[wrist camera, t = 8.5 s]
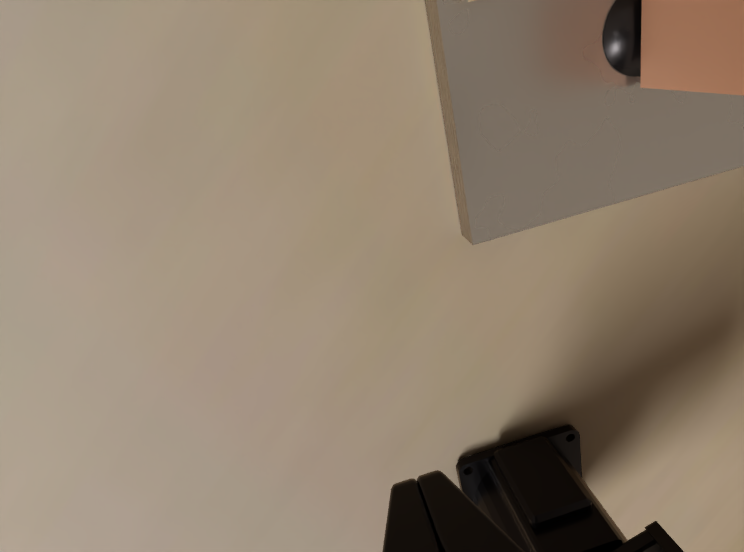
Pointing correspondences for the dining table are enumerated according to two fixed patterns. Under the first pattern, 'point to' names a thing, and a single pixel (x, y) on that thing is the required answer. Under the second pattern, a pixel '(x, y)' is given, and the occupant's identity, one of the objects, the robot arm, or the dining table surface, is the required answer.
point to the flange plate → (564, 113)
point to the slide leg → (693, 45)
